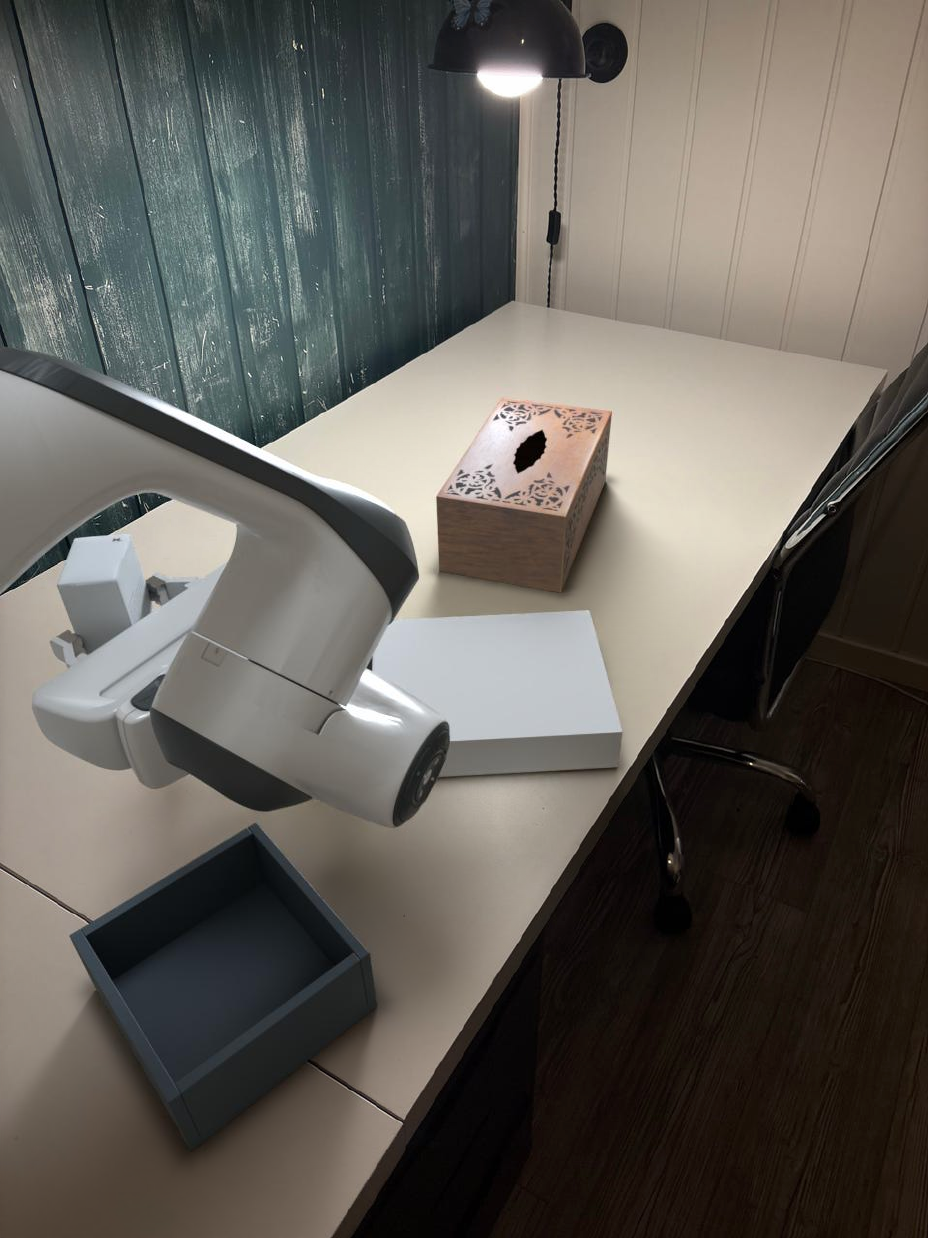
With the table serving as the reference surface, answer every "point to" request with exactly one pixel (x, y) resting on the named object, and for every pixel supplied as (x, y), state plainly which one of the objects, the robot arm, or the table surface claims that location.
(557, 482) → the tissue box cover
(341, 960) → the bin
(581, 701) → the disc drive
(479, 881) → the table surface
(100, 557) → the cosmetic box
